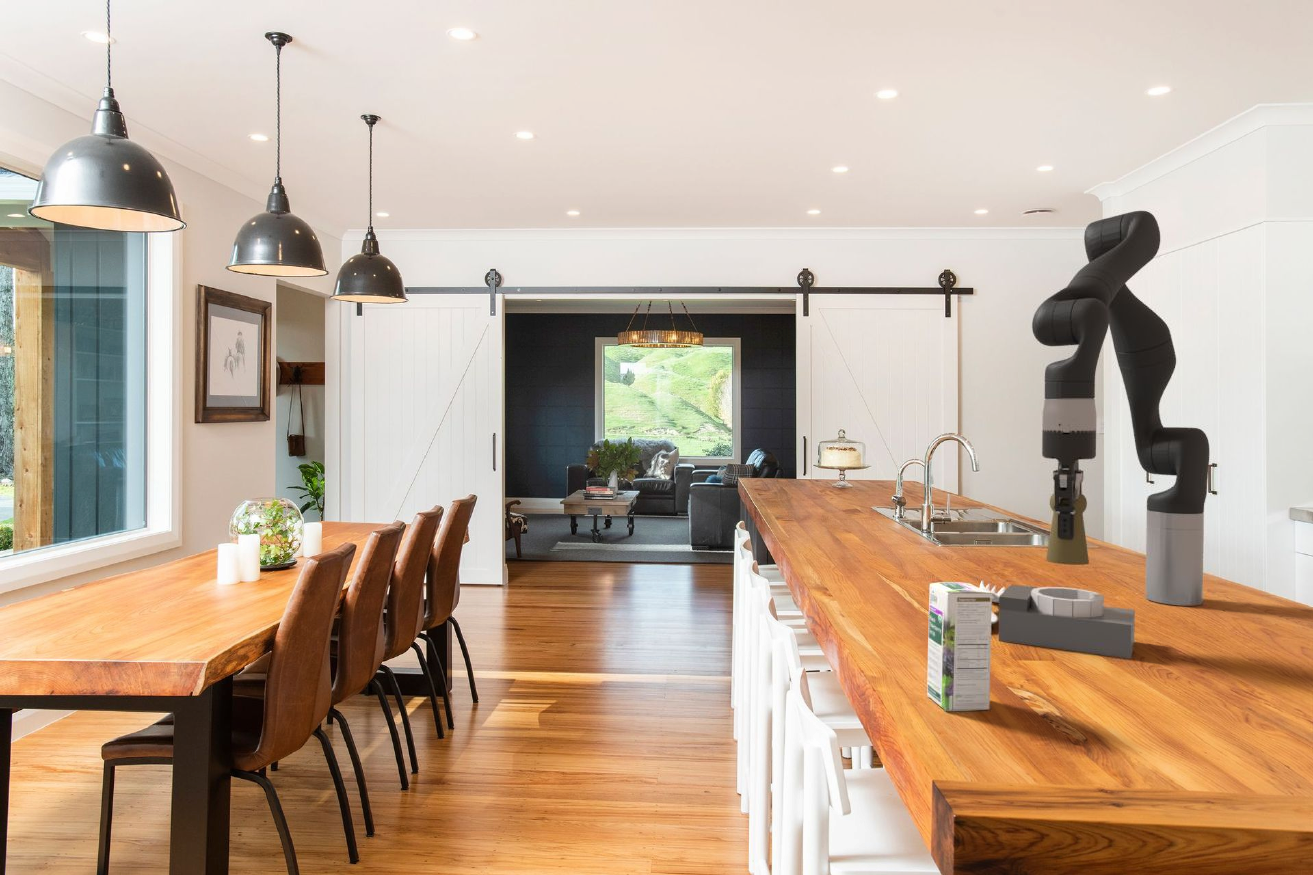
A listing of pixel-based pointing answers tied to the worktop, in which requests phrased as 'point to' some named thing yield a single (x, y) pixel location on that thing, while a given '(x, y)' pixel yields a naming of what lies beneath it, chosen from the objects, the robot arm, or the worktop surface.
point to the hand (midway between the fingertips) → (1067, 536)
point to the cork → (1064, 548)
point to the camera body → (1065, 621)
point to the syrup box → (959, 646)
